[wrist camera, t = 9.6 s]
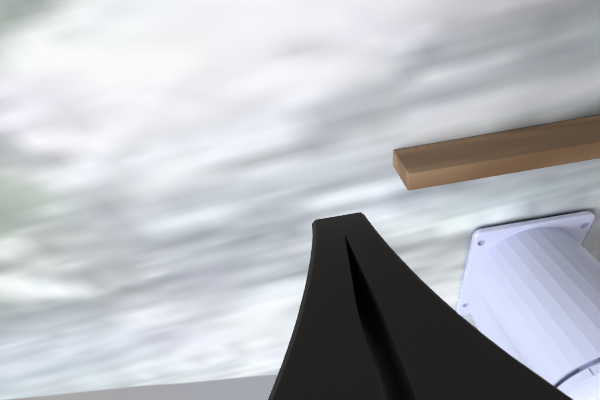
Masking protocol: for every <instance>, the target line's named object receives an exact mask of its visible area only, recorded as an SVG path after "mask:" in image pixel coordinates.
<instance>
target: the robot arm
mask: <svg viewBox="0 0 600 400" xmlns="http://www.w3.org/2000/svg"><path fill="white" fill-rule="evenodd" d="M594 218H595V215H594V214H593V213H591V212H590V211H584V212H578V213H572V214H566V215H560V216H554V217H548V218H542V219H536V220H530V221H524V222H518V223H512V224H506V225H500V226H494V227H488V228H482V229H478V230H477V231H475V232H474V234H473V236H472V241H471V245H470V250H469V254H468V259H467V263H466V268H465V272H464V277H463V281H462V286H461V290H460V295H459V299H458V304H457V308H456V311H455V310H453V309H452V308H451V307H450V306H449V305H448V304H447V303H446V302H444V301H443V300H442V299H441V298H440V297H439V296H438V295H437V294H436V293H435V292H434V291H433V290H431V289H430V288H429V287H428V286H427V285H426V284H425V283H424V282H423V281H422V280H421V279H420V278H419V277H418V276H417V275H416V274H415V273H414V272H413V271H412V270H411V269H410V268H409V267H408V266H407V265H406V264H405V263H404V262H403V261H402V259H401V258H400V257H399V256H398V255H397V254H396V253H395V252H394V251H393V250H392V249H391V248H390V246H389V245H388V244H387V243H386V242H385V241H384V239H383V238H382V237H381V236H380V235H379V234H378V232H377V231H376V230H375V229H374V227H373V226H372V225H371V223H370V222H369V221H368V219H367V218H366V217H365V215H364V214H362V213H361V212H360V213H354V214H348V215H342V216H336V217H330V218H324V219H318V220H315V221H314V222H313V223H312V230H313V239H312V250H311V259H310V264H309V270H308V275H307V281H306V285H305V290H304V294H303V298H302V301H301V305H300V309H299V313H298V317H297V320H296V324H295V327H294V330H293V333H292V337H291V340H290V343H289V346H288V349H287V351H286V354H285V357H284V360H283V363H282V365H281V368H280V371H279V373H278V376H277V378H276V381H275V384H274V386H273V389H272V391H271V394H270V396H269V399H268V400H600V262H599V261H598V260H597V259H596V258H595V257H594V256H593V255H592V254H591V253H589V252H588V251H587V250H586V249H585V248H584V247H583V246H582V243H583V241H584V239H585V237H586V235H587V233H588V231H589V229H590V227H591V225H592V223H593V221H594ZM465 315H471V317H472V318H473V320H474V322H475V324H476V325H477V327H478V329H479V330H477V329H476V328H475V327H474V326H473V325H471V324H470V323H469V322H468V321H466V320H465V319H464V318H463V317H462V316H465Z"/></svg>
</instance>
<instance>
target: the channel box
mask: <svg viewBox="0 0 600 400" xmlns="http://www.w3.org/2000/svg"><path fill="white" fill-rule="evenodd" d="M597 158H600V115H596V116H590V117H584V118H578V119H572V120H567V121H561V122H555V123H549V124H543V125H537V126H532V127H526V128H520V129H514V130H508V131H502V132H497V133H491V134H485V135H479V136H473V137H468V138H462V139H456V140H450V141H444V142H438V143H433V144H427V145H421V146H415V147H409V148H403V149H398V150H394V152H393V166H394V168H395V169H396V171H397V173H398V174H399V176H400V178H401V179H402V181H403V183H404V184H405V186H406V188H407V189H408V190H414V189H420V188H426V187H432V186H438V185H444V184H450V183H456V182H462V181H467V180H473V179H479V178H485V177H491V176H497V175H503V174H509V173H515V172H521V171H526V170H532V169H538V168H544V167H550V166H556V165H562V164H568V163H574V162H580V161H585V160H591V159H597Z"/></svg>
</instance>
